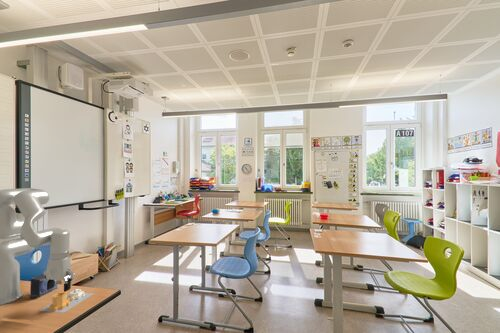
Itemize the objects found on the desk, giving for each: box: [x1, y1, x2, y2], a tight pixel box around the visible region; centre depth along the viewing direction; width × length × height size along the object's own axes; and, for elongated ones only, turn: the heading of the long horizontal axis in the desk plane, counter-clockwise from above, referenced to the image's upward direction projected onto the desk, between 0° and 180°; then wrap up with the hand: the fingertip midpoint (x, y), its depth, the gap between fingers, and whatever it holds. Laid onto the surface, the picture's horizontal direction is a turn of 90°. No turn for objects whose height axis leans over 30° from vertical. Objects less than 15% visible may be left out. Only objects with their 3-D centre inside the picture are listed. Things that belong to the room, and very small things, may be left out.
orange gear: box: [49, 291, 70, 311], centre depth 118 cm, size 8×8×6 cm
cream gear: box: [67, 288, 85, 301], centre depth 127 cm, size 8×8×3 cm
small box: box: [29, 273, 59, 299], centre depth 134 cm, size 11×6×10 cm, turn 168°
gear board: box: [39, 288, 95, 314], centre depth 122 cm, size 14×18×5 cm
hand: (58, 289), depth 118 cm, fingers open, 9 cm apart
